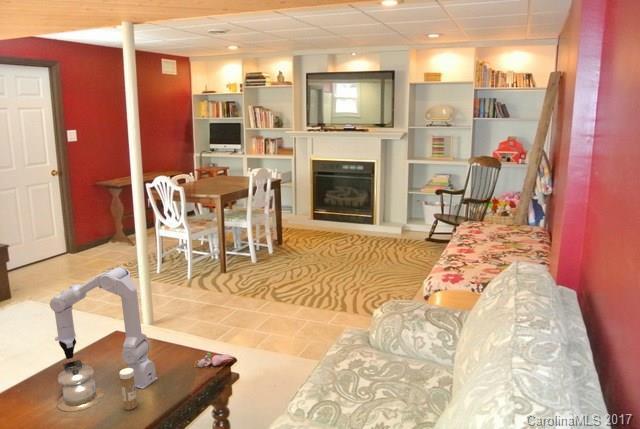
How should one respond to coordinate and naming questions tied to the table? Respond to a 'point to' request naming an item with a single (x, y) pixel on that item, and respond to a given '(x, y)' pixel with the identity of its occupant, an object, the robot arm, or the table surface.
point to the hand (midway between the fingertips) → (69, 357)
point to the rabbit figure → (215, 360)
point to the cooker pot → (80, 396)
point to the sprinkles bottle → (128, 388)
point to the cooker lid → (75, 373)
